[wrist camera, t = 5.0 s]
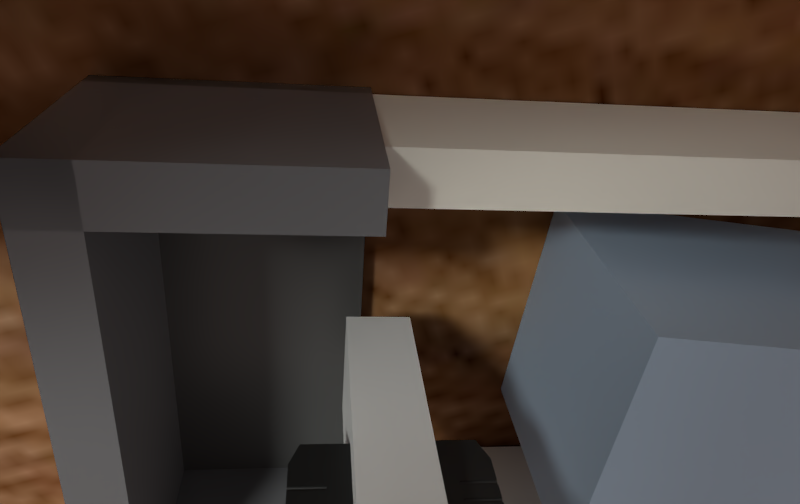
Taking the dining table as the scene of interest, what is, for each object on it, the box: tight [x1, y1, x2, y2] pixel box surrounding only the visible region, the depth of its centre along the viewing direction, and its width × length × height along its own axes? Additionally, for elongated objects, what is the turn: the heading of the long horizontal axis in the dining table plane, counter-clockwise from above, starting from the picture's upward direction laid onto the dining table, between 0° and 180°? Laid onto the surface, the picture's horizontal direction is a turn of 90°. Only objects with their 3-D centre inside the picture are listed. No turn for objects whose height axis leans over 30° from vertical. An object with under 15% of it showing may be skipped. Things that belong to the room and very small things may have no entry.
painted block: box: [501, 212, 800, 504], centre depth 17 cm, size 9×6×6 cm, turn 80°
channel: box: [372, 94, 800, 504], centre depth 17 cm, size 15×12×4 cm
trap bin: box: [0, 75, 390, 504], centre depth 15 cm, size 6×12×5 cm, turn 176°
